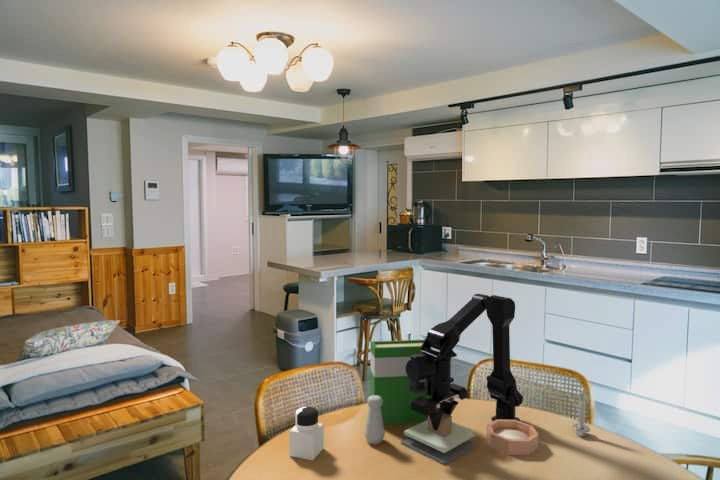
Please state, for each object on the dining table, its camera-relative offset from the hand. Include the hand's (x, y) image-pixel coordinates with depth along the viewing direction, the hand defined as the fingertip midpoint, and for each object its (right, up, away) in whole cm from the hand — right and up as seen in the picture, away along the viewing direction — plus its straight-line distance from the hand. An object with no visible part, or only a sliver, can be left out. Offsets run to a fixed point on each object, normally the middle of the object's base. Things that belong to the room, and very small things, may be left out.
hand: (439, 428), depth 136 cm
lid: (0, -2, 0) cm, 2 cm away
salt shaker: (-18, -5, +2) cm, 19 cm away
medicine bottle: (-37, -5, -4) cm, 37 cm away
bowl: (+21, -5, +1) cm, 21 cm away
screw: (+43, -5, +7) cm, 44 cm away
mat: (0, -5, 0) cm, 5 cm away
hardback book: (-10, -4, +17) cm, 20 cm away
